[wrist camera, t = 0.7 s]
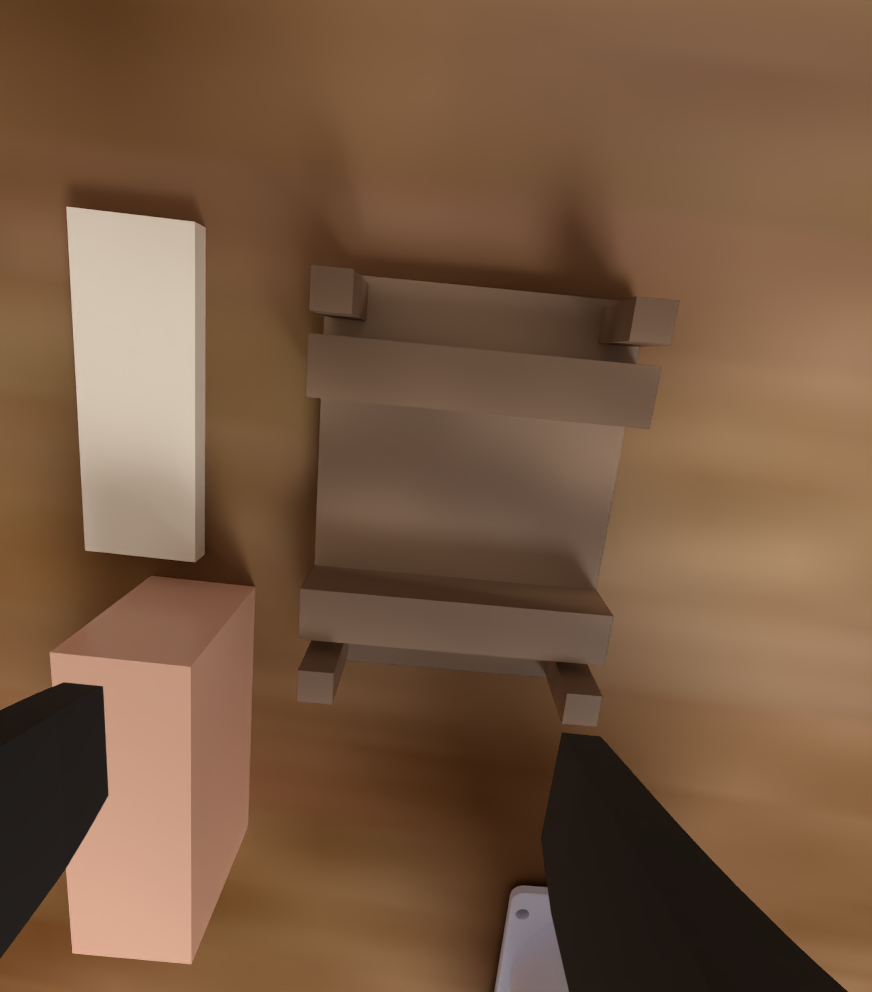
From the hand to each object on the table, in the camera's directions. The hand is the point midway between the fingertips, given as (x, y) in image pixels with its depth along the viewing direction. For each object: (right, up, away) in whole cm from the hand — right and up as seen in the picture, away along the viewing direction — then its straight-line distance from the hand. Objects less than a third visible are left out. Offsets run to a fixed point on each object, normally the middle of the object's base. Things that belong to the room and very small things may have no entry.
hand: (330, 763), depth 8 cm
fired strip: (-7, +7, +9) cm, 13 cm away
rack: (+2, +4, +9) cm, 10 cm away
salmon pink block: (-7, -3, +11) cm, 13 cm away
